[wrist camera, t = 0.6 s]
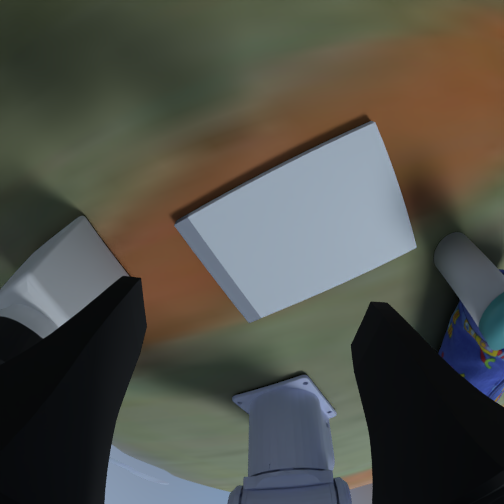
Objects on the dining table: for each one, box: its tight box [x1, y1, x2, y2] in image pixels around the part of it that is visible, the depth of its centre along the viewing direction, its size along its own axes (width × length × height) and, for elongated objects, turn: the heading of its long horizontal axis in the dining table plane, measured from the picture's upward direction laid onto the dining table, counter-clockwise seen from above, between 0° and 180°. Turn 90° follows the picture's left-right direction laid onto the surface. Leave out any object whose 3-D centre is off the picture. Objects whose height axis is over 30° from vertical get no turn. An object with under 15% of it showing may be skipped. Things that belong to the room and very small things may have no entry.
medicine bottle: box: [0, 216, 130, 365], centre depth 16 cm, size 7×7×12 cm
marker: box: [434, 232, 504, 350], centre depth 16 cm, size 4×4×8 cm
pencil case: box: [438, 269, 504, 403], centre depth 22 cm, size 22×9×10 cm, turn 9°
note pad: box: [174, 121, 417, 323], centre depth 19 cm, size 9×13×1 cm
